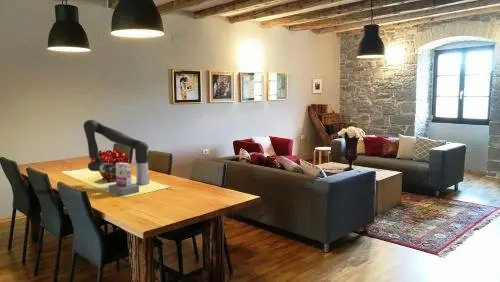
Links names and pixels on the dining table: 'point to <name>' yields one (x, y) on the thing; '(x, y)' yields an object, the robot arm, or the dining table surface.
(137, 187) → the charcoal plinth
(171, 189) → the dining table surface
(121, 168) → the candy bar box
